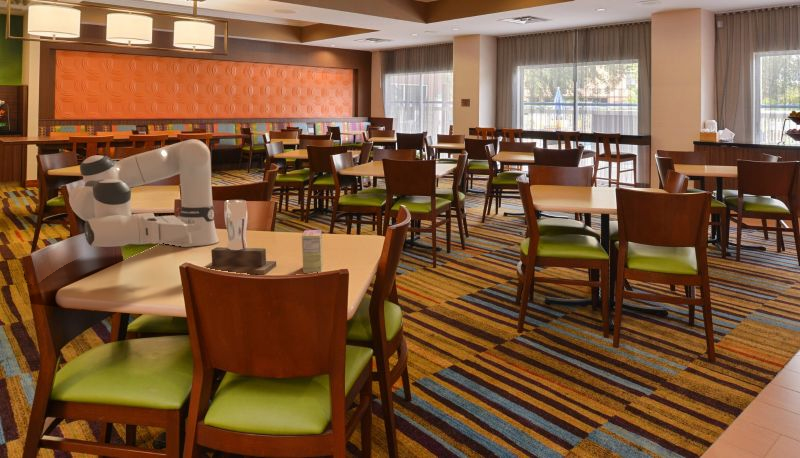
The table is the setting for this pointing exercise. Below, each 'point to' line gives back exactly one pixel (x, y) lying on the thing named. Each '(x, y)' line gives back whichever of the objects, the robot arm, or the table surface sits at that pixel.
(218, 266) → the ridge
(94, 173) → the robot arm
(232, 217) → the beer glass
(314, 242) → the box
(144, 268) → the table surface
